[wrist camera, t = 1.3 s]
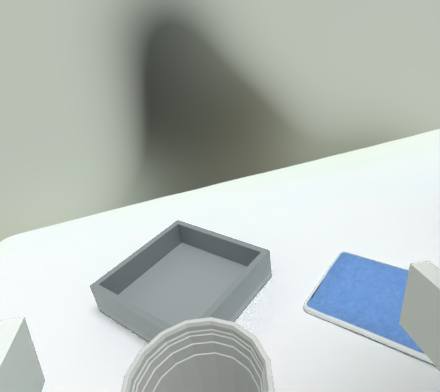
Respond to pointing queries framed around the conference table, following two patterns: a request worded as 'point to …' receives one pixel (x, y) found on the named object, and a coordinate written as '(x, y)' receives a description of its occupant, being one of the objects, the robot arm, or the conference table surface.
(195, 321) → the plastic cup
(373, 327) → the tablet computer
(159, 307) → the bin
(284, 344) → the conference table surface
